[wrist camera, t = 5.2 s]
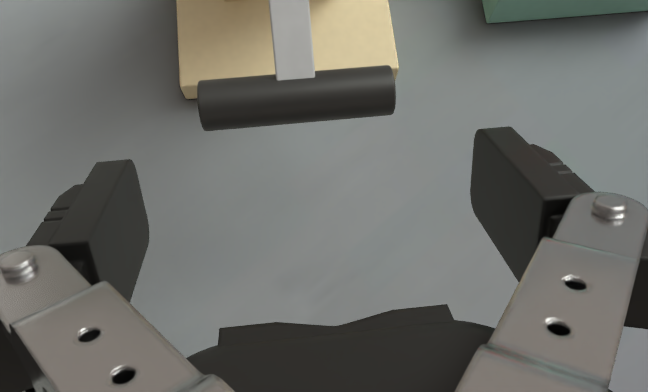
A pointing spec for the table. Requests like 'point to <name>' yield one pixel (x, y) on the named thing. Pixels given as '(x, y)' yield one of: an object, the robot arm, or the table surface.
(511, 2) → the control block
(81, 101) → the table surface
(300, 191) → the table surface
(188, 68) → the bracket
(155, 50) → the table surface
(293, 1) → the lever
